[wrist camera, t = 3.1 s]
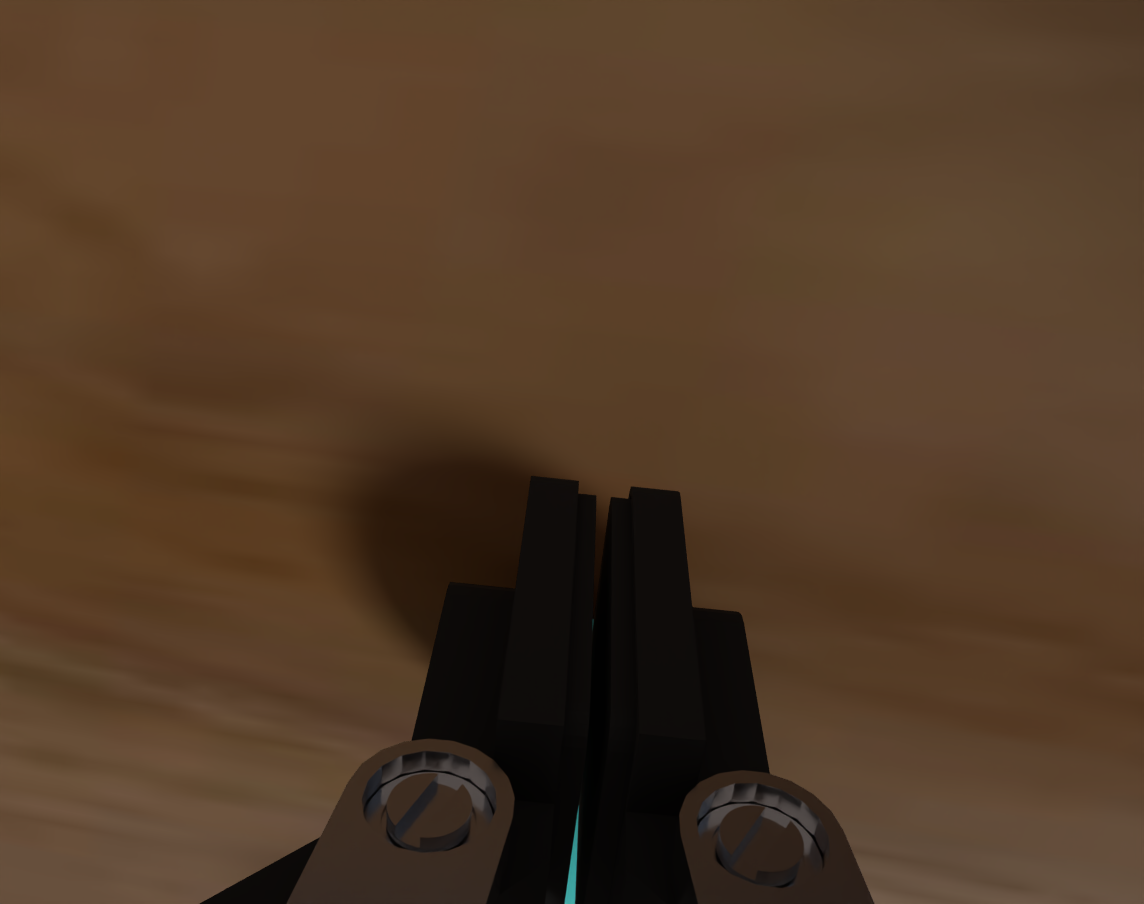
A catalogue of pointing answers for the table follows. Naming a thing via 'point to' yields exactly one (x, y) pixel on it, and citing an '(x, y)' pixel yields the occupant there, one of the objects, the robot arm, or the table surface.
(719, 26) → the table surface
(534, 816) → the robot arm
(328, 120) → the table surface
